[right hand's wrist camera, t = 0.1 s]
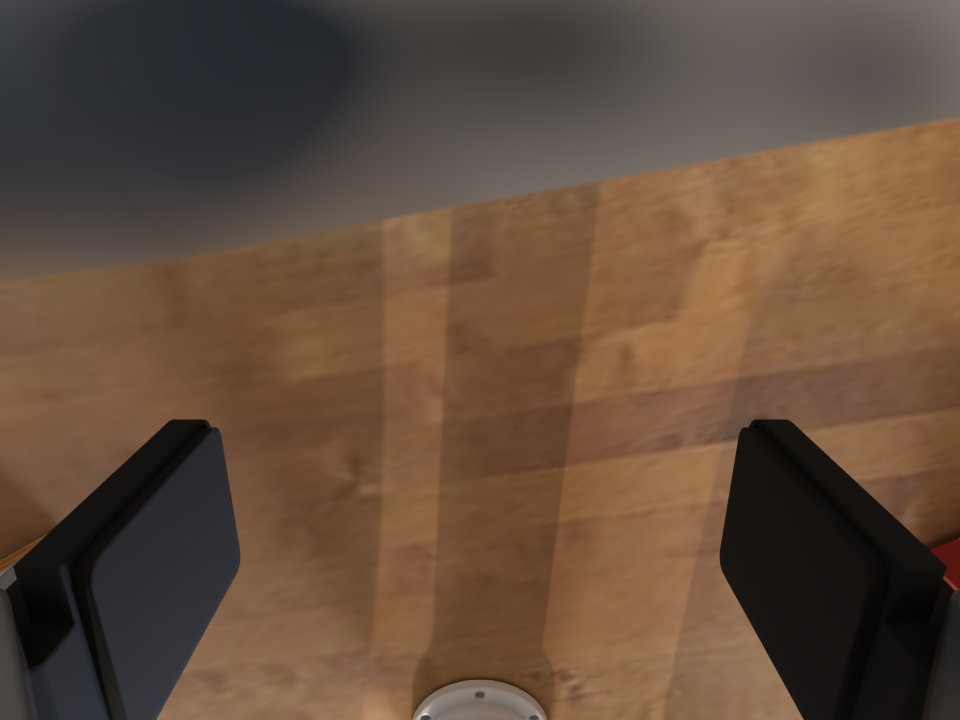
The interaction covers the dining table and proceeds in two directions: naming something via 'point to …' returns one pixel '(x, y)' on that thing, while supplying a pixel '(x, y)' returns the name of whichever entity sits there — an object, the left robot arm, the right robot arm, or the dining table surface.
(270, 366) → the dining table surface
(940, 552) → the drawer
